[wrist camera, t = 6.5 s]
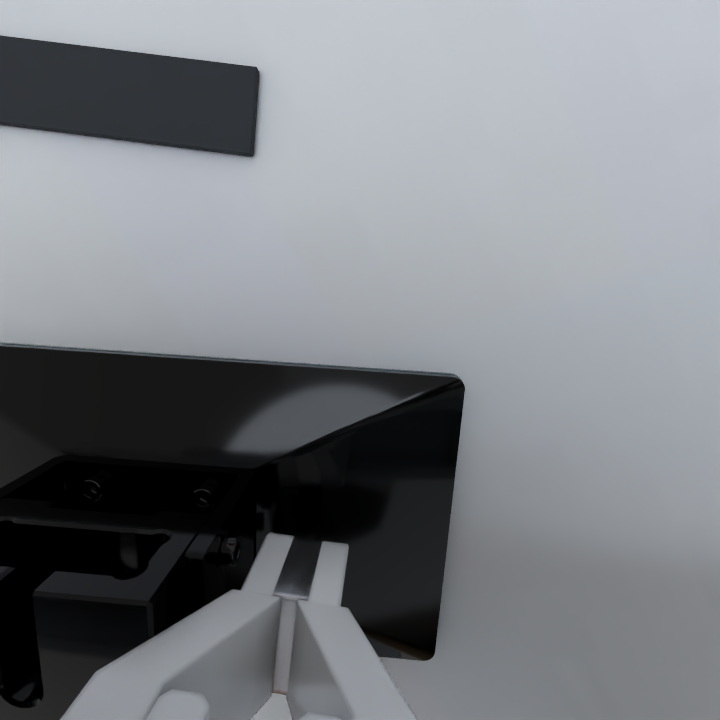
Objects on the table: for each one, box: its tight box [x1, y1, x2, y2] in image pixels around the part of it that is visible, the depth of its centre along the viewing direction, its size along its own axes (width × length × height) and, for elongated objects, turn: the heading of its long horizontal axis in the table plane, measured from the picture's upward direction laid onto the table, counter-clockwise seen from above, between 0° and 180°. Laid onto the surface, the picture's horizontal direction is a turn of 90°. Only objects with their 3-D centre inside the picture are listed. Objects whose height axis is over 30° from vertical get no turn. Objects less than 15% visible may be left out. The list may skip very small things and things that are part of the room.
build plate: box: [0, 343, 465, 720], centre depth 8 cm, size 12×7×5 cm, turn 87°
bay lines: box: [0, 36, 259, 156], centre depth 10 cm, size 10×18×1 cm, turn 173°
